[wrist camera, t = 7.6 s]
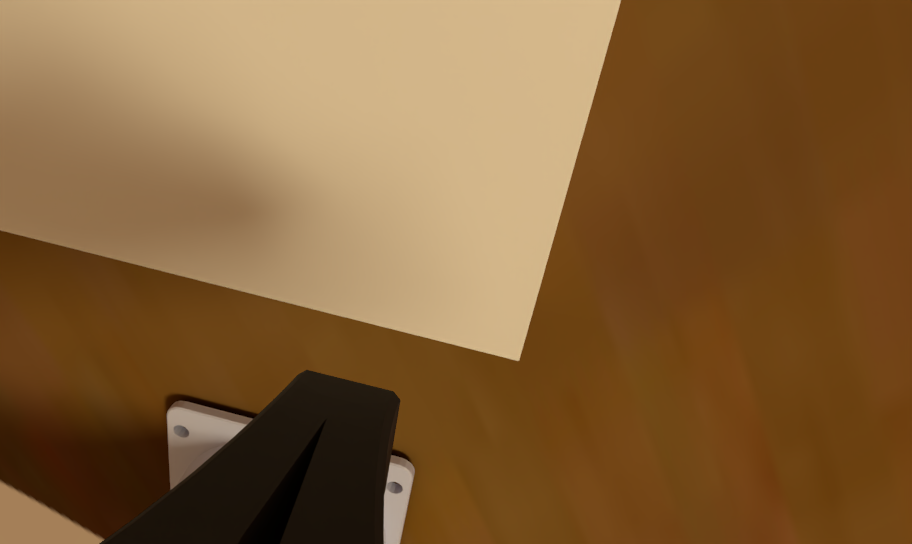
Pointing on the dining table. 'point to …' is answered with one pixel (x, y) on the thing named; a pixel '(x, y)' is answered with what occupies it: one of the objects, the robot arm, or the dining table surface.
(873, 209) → the dining table surface
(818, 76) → the dining table surface
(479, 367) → the dining table surface
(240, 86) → the board
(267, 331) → the dining table surface
